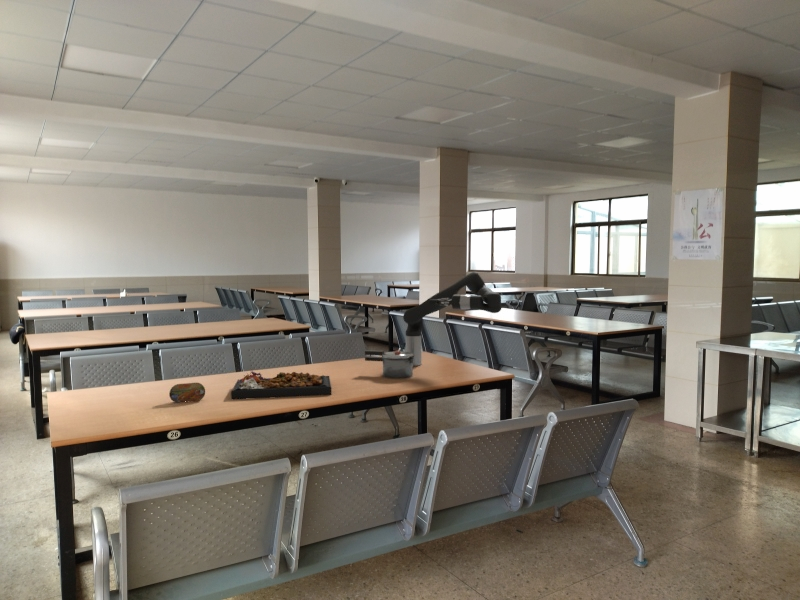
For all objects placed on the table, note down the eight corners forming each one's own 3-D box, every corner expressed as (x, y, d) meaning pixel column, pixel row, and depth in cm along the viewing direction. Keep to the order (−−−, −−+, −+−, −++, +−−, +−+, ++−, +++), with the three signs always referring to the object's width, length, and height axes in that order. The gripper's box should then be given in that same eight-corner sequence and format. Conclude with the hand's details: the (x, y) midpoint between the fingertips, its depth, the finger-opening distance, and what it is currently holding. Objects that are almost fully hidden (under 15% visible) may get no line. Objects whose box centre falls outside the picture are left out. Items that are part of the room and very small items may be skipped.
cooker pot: (417, 373, 314) (417, 355, 313) (409, 379, 299) (409, 360, 298) (371, 370, 322) (370, 353, 321) (361, 376, 306) (360, 358, 306)
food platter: (231, 400, 260) (230, 378, 260) (237, 388, 285) (237, 367, 284) (331, 396, 268) (331, 374, 267) (329, 384, 292) (329, 364, 291)
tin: (169, 403, 254) (168, 385, 253) (170, 402, 257) (169, 383, 256) (205, 401, 258) (204, 382, 258) (205, 399, 261) (205, 381, 261)
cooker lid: (418, 355, 313) (418, 349, 313) (409, 360, 298) (409, 354, 297) (371, 353, 321) (371, 347, 321) (360, 358, 305) (360, 352, 305)
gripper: (464, 293, 302) (432, 293, 307) (459, 295, 289) (426, 295, 294) (464, 308, 302) (432, 307, 307) (459, 310, 290) (426, 309, 295)
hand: (429, 301), depth 301 cm, fingers closed
